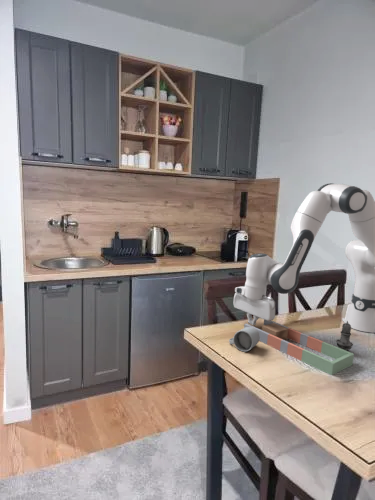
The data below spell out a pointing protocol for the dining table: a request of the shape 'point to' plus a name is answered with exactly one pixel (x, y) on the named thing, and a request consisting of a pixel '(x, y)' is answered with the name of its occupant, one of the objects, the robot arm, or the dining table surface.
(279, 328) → the walnut block
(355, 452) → the dining table surface
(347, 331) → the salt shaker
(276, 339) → the frame
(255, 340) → the ceramic mug
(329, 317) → the dining table surface
